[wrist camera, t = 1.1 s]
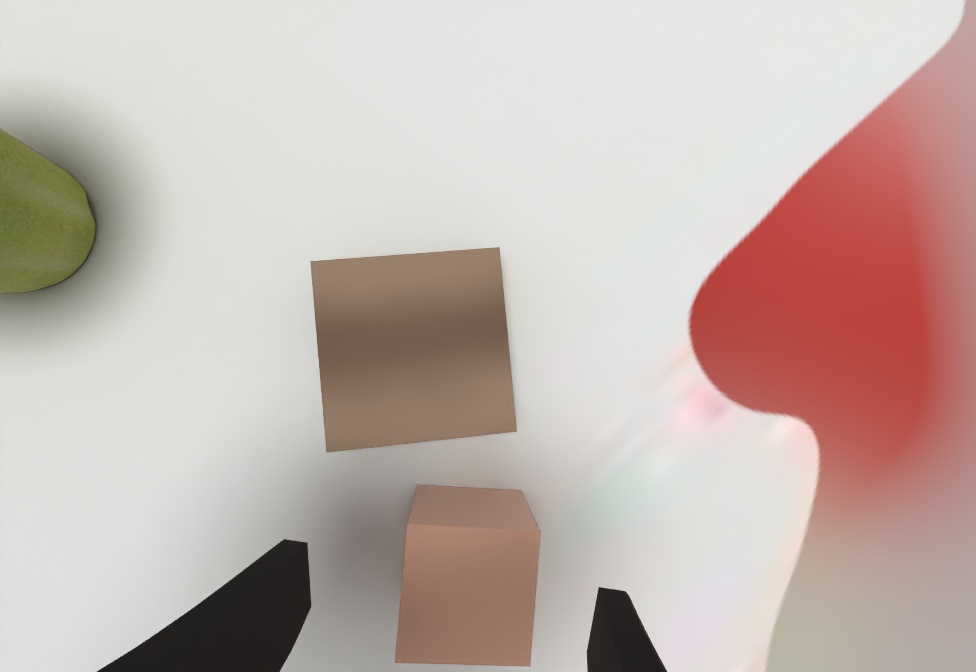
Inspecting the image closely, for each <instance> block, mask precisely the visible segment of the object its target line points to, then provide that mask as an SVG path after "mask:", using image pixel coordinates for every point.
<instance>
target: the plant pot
mask: <svg viewBox="0 0 976 672" xmlns="http://www.w3.org/2000/svg"><path fill="white" fill-rule="evenodd" d="M94 236H95V221H94V219H93V216H92V213H91V211H90V208H89V204H88V201H87V197H86V192H85V190H84V189H83V187H82V186H81V185H80V184H79V182H78V181H77V180H76V179H75V178H74V177H73V176H71V175H70V174H69V173H68V172H66V171H65V170H63V169H62V168H60V167H58V166H57V165H55V164H54V163H52V162H51V161H49V160H48V159H46V158H45V157H43V156H42V155H40V154H39V153H37V152H36V151H34V150H32V149H31V148H29V147H28V146H26V145H25V144H23V143H21V142H20V141H18V140H17V139H15V138H14V137H12V136H11V135H9V134H8V133H6V132H5V131H3V130H2V129H0V293H22V292H29V291H33V290H37V289H41V288H44V287H47V286H51V285H54V284H57V283H59V282H61V281H63V280H65V279H66V278H68V277H69V276H70V275H72V274H73V273H74V272H75V271H76V270H77V269H78V268H79V267H80V266H81V265H82V263H83V262H84V260H85V259H86V257H87V255H88V254H89V252H90V249H91V247H92V244H93V241H94Z"/></svg>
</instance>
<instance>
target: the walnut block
mask: <svg viewBox="0 0 976 672" xmlns="http://www.w3.org/2000/svg"><path fill="white" fill-rule="evenodd" d="M311 273H312V284H313V296H314V308H315V320H316V332H317V344H318V356H319V368H320V380H321V392H322V404H323V416H324V427H325V439H326V451H327V452H335V451H344V450H353V449H362V448H371V447H380V446H390V445H399V444H408V443H417V442H426V441H435V440H444V439H453V438H462V437H471V436H480V435H489V434H498V433H507V432H516V431H517V429H516V418H515V408H514V397H513V387H512V376H511V366H510V355H509V344H508V334H507V323H506V313H505V302H504V291H503V281H502V270H501V260H500V249H499V247H498V248H485V249H471V250H458V251H444V252H431V253H417V254H404V255H390V256H377V257H363V258H350V259H336V260H323V261H311Z"/></svg>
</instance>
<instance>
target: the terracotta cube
mask: <svg viewBox="0 0 976 672" xmlns="http://www.w3.org/2000/svg"><path fill="white" fill-rule="evenodd" d="M539 543H540V529H539V527H538V525H537V523H536V521H535V519H534V517H533V515H532V513H531V510H530V508H529V506H528V504H527V502H526V500H525V498H524V496H523V494H522V492H521V490H505V489H488V488H471V487H453V486H436V485H419V484H417V488H416V492H415V496H414V499H413V503H412V507H411V511H410V515H409V518H408V522H407V530H406V542H405V553H404V565H403V576H402V588H401V599H400V611H399V622H398V634H397V645H396V657H395V663H426V664H460V665H495V666H530V662H531V649H532V636H533V622H534V609H535V596H536V583H537V570H538V557H539Z"/></svg>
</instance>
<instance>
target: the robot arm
mask: <svg viewBox="0 0 976 672" xmlns="http://www.w3.org/2000/svg"><path fill="white" fill-rule="evenodd" d="M310 608H311V594H310V578H309V562H308V547H307V543H305V542H299V541H292V540H286V539H284V540H283V541H281V542H280V543H279V544H277V545H276V546H275V547H273V548H272V549H271V550H269V551H268V552H267V553H265V554H264V555H263V556H261V557H260V558H259V559H258V560H256V561H255V562H254V563H252V564H251V565H250V566H248V567H247V568H246V569H245V570H243V571H242V572H241V573H239V574H238V575H237V576H235V577H234V578H233V579H232V580H230V581H229V582H228V583H226V584H225V585H224V586H222V587H221V588H220V589H218V590H217V591H215V592H214V593H213V594H211V595H210V596H209V597H207V598H206V599H205V600H203V601H202V602H201V603H199V604H198V605H197V606H195V607H194V608H193V609H191V610H190V611H188V612H187V613H185V614H184V615H183V616H181V617H180V618H178V619H177V620H175V621H174V622H172V623H171V624H170V625H168V626H167V627H165V628H164V629H162V630H161V631H159V632H158V633H157V634H155V635H154V636H152V637H151V638H149V639H148V640H146V641H145V642H143V643H142V644H140V645H139V646H137V647H136V648H134V649H133V650H131V651H129V652H128V653H126V654H125V655H123V656H122V657H120V658H118V659H117V660H115V661H113V662H112V663H110V664H108V665H107V666H105V667H104V668H102V669H100V670H99V671H97V672H280V670H281V668H282V666H283V665H284V663H285V661H286V659H287V658H288V656H289V654H290V652H291V650H292V648H293V646H294V644H295V642H296V639H297V637H298V635H299V633H300V631H301V629H302V626H303V624H304V622H305V619H306V617H307V615H308V612H309V610H310ZM587 666H588V672H667V670H666V669H665V667H664V665H663V663H662V661H661V659H660V658H659V656H658V654H657V652H656V650H655V648H654V646H653V644H652V642H651V640H650V638H649V637H648V635H647V633H646V631H645V629H644V627H643V625H642V623H641V620H640V618H639V616H638V614H637V612H636V610H635V608H634V606H633V604H632V601H631V599H630V597H629V595H628V594H627V593H626V592H625V591H620V590H614V589H607V588H600V587H599V589H598V594H597V600H596V605H595V611H594V616H593V622H592V627H591V633H590V638H589V643H588V649H587Z"/></svg>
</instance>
